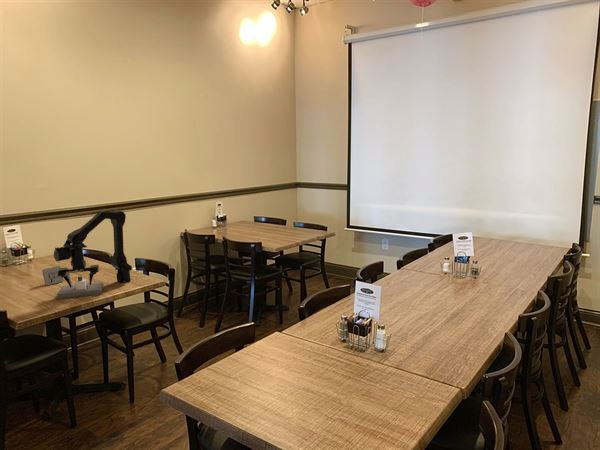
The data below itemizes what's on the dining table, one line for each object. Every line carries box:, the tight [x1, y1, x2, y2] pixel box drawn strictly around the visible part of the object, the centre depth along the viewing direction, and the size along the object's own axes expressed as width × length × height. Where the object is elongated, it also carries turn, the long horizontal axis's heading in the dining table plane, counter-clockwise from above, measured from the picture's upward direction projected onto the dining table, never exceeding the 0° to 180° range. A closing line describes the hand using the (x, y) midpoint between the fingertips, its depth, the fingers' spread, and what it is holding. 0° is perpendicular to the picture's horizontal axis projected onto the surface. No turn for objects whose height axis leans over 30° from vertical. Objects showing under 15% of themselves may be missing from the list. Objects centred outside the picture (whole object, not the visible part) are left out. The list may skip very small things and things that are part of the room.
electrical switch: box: [41, 265, 65, 286], centre depth 251 cm, size 9×5×9 cm, turn 141°
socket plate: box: [56, 281, 105, 300], centre depth 234 cm, size 20×13×2 cm, turn 107°
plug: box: [74, 275, 87, 290], centre depth 233 cm, size 4×4×8 cm
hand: (80, 286), depth 233 cm, fingers open, 9 cm apart
